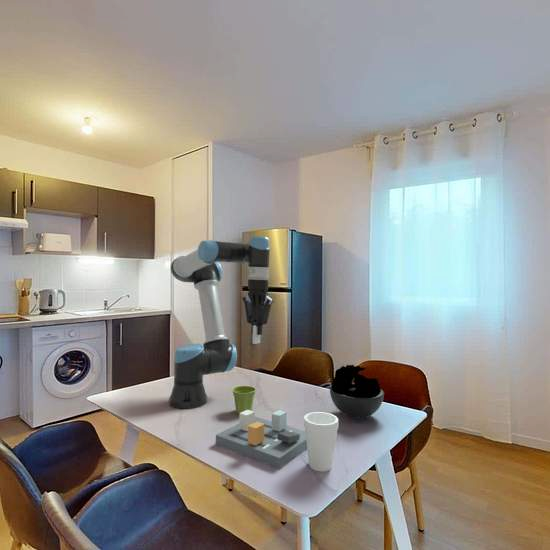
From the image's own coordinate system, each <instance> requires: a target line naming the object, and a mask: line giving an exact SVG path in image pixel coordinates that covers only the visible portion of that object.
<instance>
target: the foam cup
mask: <svg viewBox="0 0 550 550" xmlns="http://www.w3.org/2000/svg"><path fill="white" fill-rule="evenodd" d="M303 426H304V431H305V433H306V442H307V449H306V450H307V457H308V458H307V459H308V465H309V467H310V469H312V470H314V471H316V472H327V471H330V470H332V467H333V463H334V458H335V457H334V456H335V449H336V442H337V435H338V430H339V418H338V417H337V415H334V414H332V413H330V412H321V411H314V412H309V413H307V414H306V413H305V415H304V416H303Z"/></svg>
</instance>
